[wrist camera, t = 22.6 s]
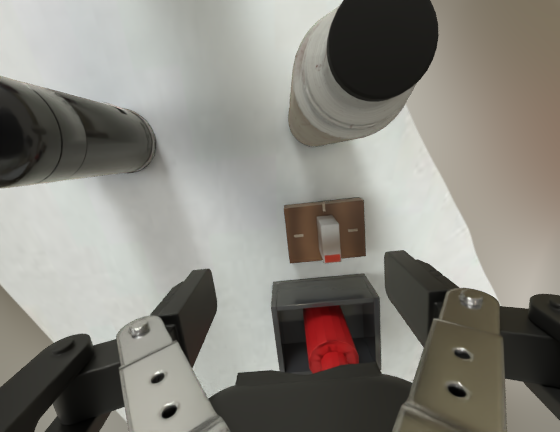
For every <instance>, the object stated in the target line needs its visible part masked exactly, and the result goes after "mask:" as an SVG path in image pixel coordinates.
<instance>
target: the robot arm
mask: <svg viewBox="0 0 560 432" xmlns="http://www.w3.org/2000/svg"><path fill="white" fill-rule="evenodd" d="M104 103H105V102H104ZM107 104H109V103H107ZM107 104H103V103H100V102H96V101H92V100H89V99H85V98H81V97H77V96H74V95H70V94H66V93H63V92H59V91H55V90H51V89H48V88H44V87H40V86H36V85H32V84H28V83H25V82H21V81H17V80H13V79H10V78H6V77H3V76H0V188H11V187H18V186H26V185H34V184H42V183H50V182H56V181H64V180H72V179H80V178H87V177H95V176H103V175H111V174H120V173H133V172H137V171H140V170H142V169H144V168H145V167H146V166H147V165H148V164H149V163H150V162H151V160H152V159H153V156H154V153H155V147H156V143H155V137H154V133H153V131H152V129H151V127H150V125H149V124H148V123H147V121H146V120H145V119H144V118H143V117H142V116H140V115H139V114H137V113H136V112H134V111H131V110H128V109H124V108H120V107H117V106H115V107H114V105H112V106H111V104H110V105H107ZM384 270H385V289H386V293H387V296H388V298H389V299H390V301H391V302H392V304H393V305H394V306H395V308H396V309H397V311H398V312H399V313H400V315H401V316H402V318H403V319H404V320H405V322H406V323H407V325H408V326H409V327H410V329H411V330H412V332H413V333H414V334H415V336H416V337H417V339H418V340H419V341H420V343H421V344H422V346H423V347H424V349H423V352H422V356H421V359H420V362H419V365H418V368H417V371H416V374H415V377H414V380H413V383H411V382H409V381H406V380H404V379H401V378H398V377H395V376H390V375H386V374H381V371H380V369H379V367H378V365H377V362H371V363H358V364H345V365H339V366H336V367H333V368H330V369H326V370H323V371H320V372H317V373H313V374H310V375H301V374H294V373H287V372H280V371H273V370H269V371H257V372H244V373H238V375H237V380H236V385H234V386H231V387H229V388H226V389H224V390H222V391H220V392H218V393H216V394H215V395H213V396H211V397H210V398H207V396H206V394H205V392H204V390H203V388H202V386H201V384H200V383H199V381H198V379H197V377H196V375H195V373H194V371H193V369H192V368H193V365H194V363H195V361H196V358H197V356H198V354H199V351H200V349H201V347H202V344H203V342H204V340H205V337H206V335H207V333H208V330H209V328H210V326H211V323H212V321H213V319H214V316H215V314H216V311H217V298H216V293H215V288H214V282H213V277H212V272H211V270H210V269H201V270H193V271H192V272H191V273H190V274H189V276H188V277H187V278H186V280H185V281H184V282H181V283H179V284H178V285H176V286H175V287H173V288H172V289H171V290H170V292H169V293H168V294H167V296H165V298H164V299H163V301H162V302H160V304H159V305H158V306H157V307H156V309H155V310H154V311H153V312H152V313H151V315H150V316H146V317H142V318H139V319H136V320H134V321H132V322H130V323H128V324H127V325H125V326H124V327H123V328H122V329H121V330H120V331H119V332H118V333H117V336H116V339H115V340H111V341H108V342H104V343H101V344H97V345H94V346H93V344H92V341H91V338H90V336H89V335H87V334H76V335H72V336H69V337H66V338H64V339H61V340H59V341H57V342H55V343H53V344H52V345H50V346H48V347H47V348H45V349H44V350H43V351H42V352H41V353H39V354H38V355H37V356H36V357H35V358H34V359H32V360H31V361H30V362H29V363H28V364H27V365H26V366H25V367H23V368H22V369H21V370H20V371H19V372H18V373H16V374H15V375H14V376H13V377H12V378H11V379H9V380H8V381H7V382H6V383H5V384H4V385H3V386H1V387H0V432H34V430H35V427H36V425H37V423H38V421H39V419H40V418H41V416H42V415H43V414H44V413H45V412H46V411H47V409H48V408H49V407H50V406H51V405H52V404H53V406H54V408H55V411H56V413H57V417H56V418H55V420H54V421H53V422H52V423H51V425H50V426H49V427H48V428H47V429H46V431H45V432H99V431H100V429H101V428H102V426H103V425H104V423H105V421H106V420H107V418H108V416H109V414H110V413H111V411H114V410H116V409H119V408H122V407H125V412H126V418H127V424H128V431H129V432H507V421H506V396H505V379H511V380H517V381H523V382H524V383H525V385H526V386H527V387H528V388H529V389H530V390H531V391H532V392H533V393H534V394H535V395H536V396H537V397H538V398H539V399H540V400H541V401H542V403H544V404H545V406H546V407H547V408H548V409H549V410H550V411H551V412H552V413H553V414H554V415H555V416H556V417H557V418H558V419H559V420H560V296H559V295H552V294H538V295H534V296H532V297H531V298H530V303H529V309H525V308H513V307H503V306H500V305H499V302H498V301H497V300H496V299H495V298H494V297H493V296H491V295H489V294H487V293H485V292H482V291H478V290H474V289H469V288H459V287H458V286H457V285H455V284H454V283H453V282H451V281H450V280H449V279H448V278H446V277H445V276H443V275H442V274H441V273H440V272H439V271H436V269H435V268H433V267H432V266H431V265H430V264H428V263H425V262H423V261H420V260H415V259H414V258H413V257H411V256H410V255H409V254H408V253H406V252H405V251H404V250H400V251H390V252H386V253H385V255H384Z"/></svg>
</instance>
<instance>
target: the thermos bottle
mask: <svg viewBox="0 0 560 432" xmlns="http://www.w3.org/2000/svg"><path fill="white" fill-rule="evenodd" d="M437 41H438V22H437V17H436V12H435V11H434V8H433V5H432V3H431V1H430V0H343V2H342V4H341V5H340V6H338V7H337V8H336V9H334V10H333V11H331V12H330V13H328V14H327V15H326V16H324V17H323V18H321V19H320V20H319V21H317V22H316V23H315V25H314V26H313V27H312V28H311V29H310V30H309V31H308V32H307V34H306V35H305V37H304V39H303V40H302V42H301V44H300V46H299V48H298V51H297V53H296V56H295V61H294V65H293V72H292V82H291V93H290V107H289V114H288V122H289V127H290V130H291V132H292V134H293V136H294V137H295V138H296V139H297V140H298V141H299V142H301V143H302V144H305V145H307V146H322V145H327V144H332V143H337V142H342V141H347V140H353V139H358V138H363V137H366V136H369V135H371V134H374V133H376V132H378V131H379V130H381V129H382V128H384V127H386V126H387V125H388V124H389V123H390V122H391V121H392V120H393V119H395V117H396V116H397V115H398V114H399V112H400V111H401V110H402V108H403V107H404V105H405V103H406V101H407V99H408V97H409V96H410V95H411V93H412V91H413V89H414V87H415V85H416V83H417V82H418V81H419V80H420V79H421V78H422V76H423V75H424V74H425V72H426V71H427V70H428V68H429V65H430V64H431V62H432V60H433V57H434V54H435V51H436V48H437Z"/></svg>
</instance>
